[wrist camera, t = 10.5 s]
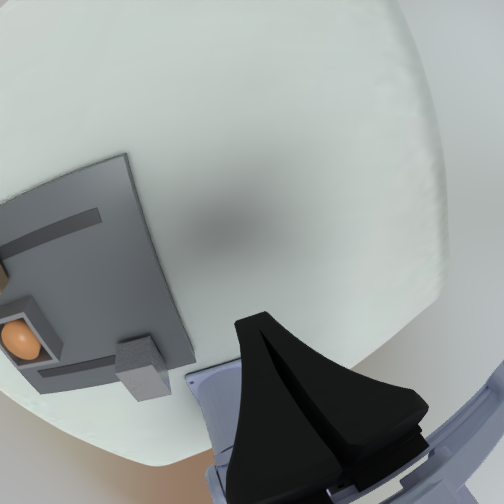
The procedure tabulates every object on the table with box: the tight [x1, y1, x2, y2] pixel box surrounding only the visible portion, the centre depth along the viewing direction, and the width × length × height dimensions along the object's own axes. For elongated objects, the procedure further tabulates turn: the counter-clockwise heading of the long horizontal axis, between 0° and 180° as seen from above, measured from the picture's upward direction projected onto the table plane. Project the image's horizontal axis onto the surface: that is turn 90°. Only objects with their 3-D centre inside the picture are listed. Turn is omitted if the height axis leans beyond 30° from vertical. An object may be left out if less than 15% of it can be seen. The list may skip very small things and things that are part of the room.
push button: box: [1, 317, 41, 360], centre depth 16 cm, size 4×4×2 cm
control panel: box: [0, 153, 196, 394], centre depth 17 cm, size 18×18×4 cm
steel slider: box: [115, 336, 171, 402], centre depth 20 cm, size 4×3×3 cm
